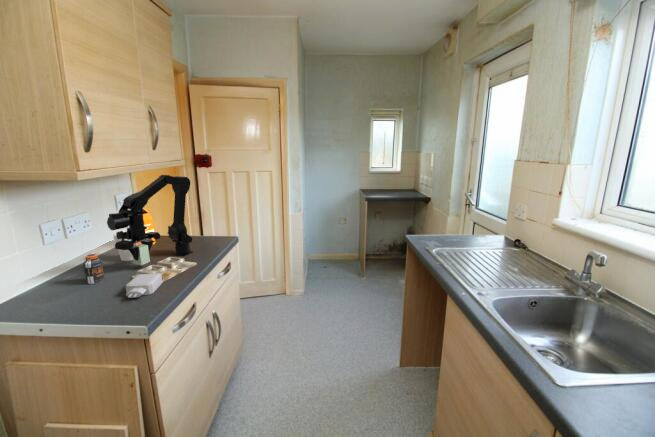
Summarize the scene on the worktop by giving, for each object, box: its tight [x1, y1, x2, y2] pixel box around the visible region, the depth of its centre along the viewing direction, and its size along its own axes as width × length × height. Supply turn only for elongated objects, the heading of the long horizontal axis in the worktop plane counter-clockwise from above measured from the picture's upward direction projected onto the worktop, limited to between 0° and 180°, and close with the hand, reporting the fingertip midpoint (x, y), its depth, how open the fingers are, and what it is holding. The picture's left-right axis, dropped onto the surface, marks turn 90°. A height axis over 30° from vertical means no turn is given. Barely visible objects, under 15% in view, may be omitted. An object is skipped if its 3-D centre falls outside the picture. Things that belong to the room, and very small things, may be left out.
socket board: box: [131, 256, 197, 283], centre depth 135 cm, size 21×15×3 cm
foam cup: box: [112, 230, 137, 262], centre depth 148 cm, size 10×9×13 cm
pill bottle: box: [82, 253, 105, 285], centre depth 123 cm, size 6×6×11 cm
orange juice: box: [137, 208, 156, 245], centre depth 168 cm, size 8×9×20 cm
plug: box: [132, 244, 151, 266], centre depth 137 cm, size 4×4×8 cm
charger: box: [125, 274, 163, 299], centre depth 114 cm, size 5×9×15 cm
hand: (141, 258), depth 137 cm, fingers closed on plug, 4 cm apart
